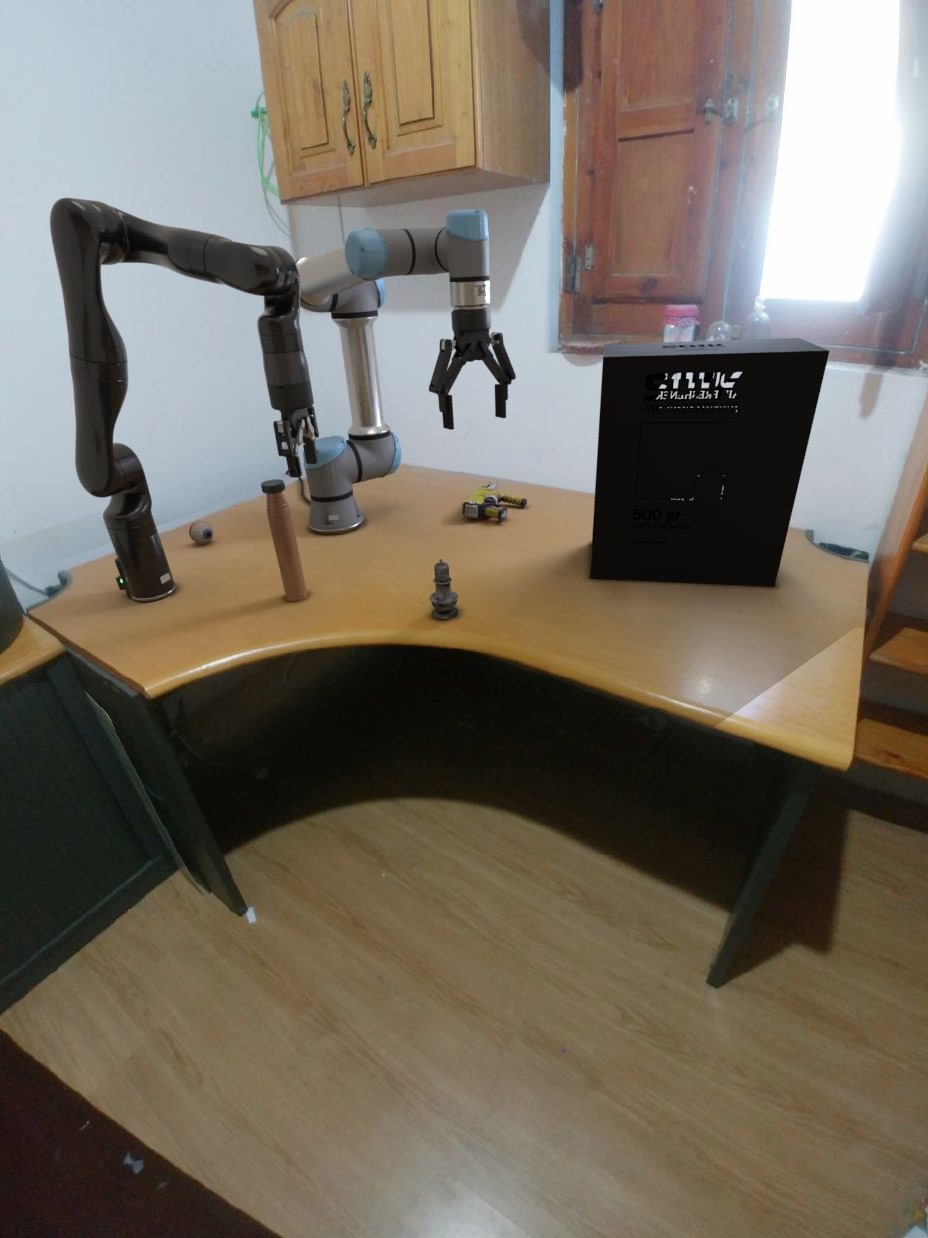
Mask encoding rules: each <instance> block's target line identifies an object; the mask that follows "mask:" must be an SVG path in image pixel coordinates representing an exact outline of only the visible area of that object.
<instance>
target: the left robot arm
mask: <svg viewBox="0 0 928 1238" xmlns="http://www.w3.org/2000/svg"><path fill="white" fill-rule="evenodd" d="M49 215H50V216H49V229H50V236H51V244H52V248H53V253H54V259H55V263H56V267H57V272H58V277H59V282H60V288H61V293H62V300H63V307H64V316H65V323H66V331H67V341H68V342H67V343H68V344H67V345H68V357H69V358H68V359H69V366H70V367H69V368H70V372H71V381H72V390H73V404H74V417H75V442H74V443H75V446H74V466H75V472H76V476H77V479H78V481H79V483H80V485H81V486H82V488H83V489H84V490H85V491H86V492H87V493H88V494H90V495H91V496H93V497H96V498H99V499H102V498H108V497H110V501H109V503H108V504H107V506H106V508H105V510H103V513H102V519H103V523H104V525H105V528H106V530H107V534H108V535H109V538H110V541H111V544H112V546H113V549H114V552H115V554H116V558H115V559H114V563H115V566H116V569H117V571H118V574H119V575H117V576H116V577H115V581H116V583H117V586H118V589H119V590H120V591H125V593H126V595H127V598H128V599H132V600H133V601H134V602H138V603H149V602H154V601H158V600H162V599H164V598H167V597H168V596H171V595H172V594H174V593H175V591H176V590H177V584H176V582H175V579H174V577H173V574H172V571H171V568H170V565H169V562H168V558H167V556H166V553H165V550H164V545H163V543H162V541H161V538H160V534H159V532H158V531H159V530H158V529H157V525H156V522H155V519H154V515H153V512H152V507H153V501H152V496H151V492H150V487H149V485H148V480H147V477H146V473H145V470H144V467H143V464H142V462H141V460H140V459H139V457H138V455H137V454H136V452H135V451H134V450H133V449H132V448H131V447H129V446H128V445H127V444H125V443H120V442H114V433H115V427H116V423H117V421H118V418H119V416H120V413H121V410H122V408H123V405H124V402H125V401H126V400H125V399H126V396H127V393H128V390H129V361H128V360H129V359H128V352H127V351H128V350H127V347H126V344H125V341H124V339H123V337H122V335H121V333H120V331H119V328H118V327H117V325H116V324H115V321H114V320H113V319H112V317H111V315H110V313H109V311H108V308H107V306H106V305H107V304H106V303H105V299H104V294H103V285H102V284H103V283H102V266H112V265H117V264H148V265H154V266H158V267H162V268H165V269H168V270H169V271H172V272H174V273H176V274H179V275H181V276H184V277H186V278H190V279H194V280H198V281H203V282H207V283H212V284H216V285H221V286H227V287H229V288H231V289H234V290H237V291H239V292H243V293H246V294H249V295H253V296H259V297H263V312H262V313H261V314H260V315H259V316H258V317H257V319H256V327H257V334H258V338H259V343H260V349H261V352H262V353H261V355H262V366H263V371H264V377H265V383H266V388H267V392H268V393H267V394H268V397H269V403H270V407H271V408H272V409H273V410H275V411H279V413H280V420H274V421H273V422H272V425H273V430H274V437H275V443H276V448H277V449H276V450H277V454H278V456H279V457H284V458H285V460H286V465H287V470H288V471H289V473H288V475H289V477H290V478H295V479H296V478H297V479H299V477H301V478H302V476H303V470H302V465H301V460H300V456H299V452H300V446H301V445H302V444H303V445H302V447H303V450H304V454H305V459H306V463H307V464H316V463H317V462H318V458H317V452H316V446H315V443H316V440H317V439H319V437H320V432H319V426H318V422H317V416H316V410H315V406H314V403H315V401H314V395H313V388H312V382H311V375H310V370H309V364H308V360H307V357H306V353H305V347H304V342H303V335H302V329H301V326H300V314H301V313H300V312H301V306H300V278H299V273H298V269H297V266H296V263H295V261H296V260H295V259H294V257H293V256H292V254H290V252H288V250H287V249H285V248H283V247H281V246H277V245H262V244H261V245H259V244H252V243H244V242H239V241H234V240H231V239H230V238H228V237H225V236H223V235H219V234H214V233H209V232H205V231H199V230H195V229H190V228H183V227H177V226H172V225H171V226H170V225H163V224H160V223H155V222H152V221H149V220H145V219H143V218H141V217H137V216H135V215H133V214H130V213H128V212H126V211H123V210H121V209H119V208H116V207H115V206H111V205H110V204H107V203H105V202H102V201H99V200H93V199H92V200H91V199H83V198H76V197H62V198H59V199H57V200H56V201H55V202H54V204H53V205H52V207H51V209H50V214H49Z"/></svg>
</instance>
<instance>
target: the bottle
mask: <svg viewBox="0 0 928 1238" xmlns="http://www.w3.org/2000/svg"><path fill="white" fill-rule="evenodd" d="M265 495H266V497H265V500H266V501H265V503H266V504H265V507H266V515H267V516H266V517H267V521H268V524H269V529H270V534H271V537H272V542H273V546H274V551H275V555H276V560H277V564H278V568H279V573H280V578H281V581H282V586H283V590H284V595H285V599H286V601H288V602H299V601H303V600H305V599H306V598H307V597H308V591H307V586H306V582H305V576H304V571H303V566H302V561H301V556H300V553H299V551H300V550H299V547H298V541H297V537H296V533H295V532H296V531H295V528H294V523H293V518H292V514H291V513H292V512H291V508H290V505H289V504H288V501H287V498H286V495H285V494H284V491H282V492H279V493H273V494H266V493H265Z"/></svg>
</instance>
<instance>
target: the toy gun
mask: <svg viewBox="0 0 928 1238" xmlns="http://www.w3.org/2000/svg"><path fill="white" fill-rule="evenodd" d="M498 486H499V483H498V482H497V481H493V482H492V481H491V480H489V481H488V482H487V483H485V484H483V485H482V486H481V487H479V488H478V489H477V490H476V491H474V493H472V495H470V496H469V497H468V498H467V499H466V500H465V501H464V502H462V506H461V508H462V509H461V514H462V516H463V517H466V518H467V519H471V520H472V519H474V518H475V519H482V518H486V517H489V518H494V519H498V521H497V522H498V523H499V522H502V521H504V520H506V519H507V516H508V506H503V507H501V505H499V504H500V503H505V504H506V503H507V504H511V505H515V506H519V507H521V508H525V507H526V506H527V503H528V499H526V497H525V498H524V497H520V496H514V495H511V494H510V495H509V494H506V493H505V494H503V495H502V496H501V493H500V492H499V491H498V489H499V487H498Z"/></svg>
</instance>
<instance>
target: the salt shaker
mask: <svg viewBox="0 0 928 1238" xmlns="http://www.w3.org/2000/svg"><path fill="white" fill-rule="evenodd" d="M438 561H439V562H437V563H435V564H434V568H433V570H434V578H433V580H432V581H433V583H434V587H435V591H434V592H432V593H431V594H430V595H429V597H428V600H429V601H430V603H431V605H432V607H433V608H434V609H433V610H432V611H431V615H432V616H433V618H436V619H439V620H448V619H452V618H454V617H456V616H457V615H458V614H459V610H458V608H457V607H456V605H457V603H458V600H459V594H458V592H456V591H453V590H452V587H451V586H452V585H451V582H452V577H450V566H449V563H447V562H444V560H443V559H442V558H440V559H439V560H438Z"/></svg>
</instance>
